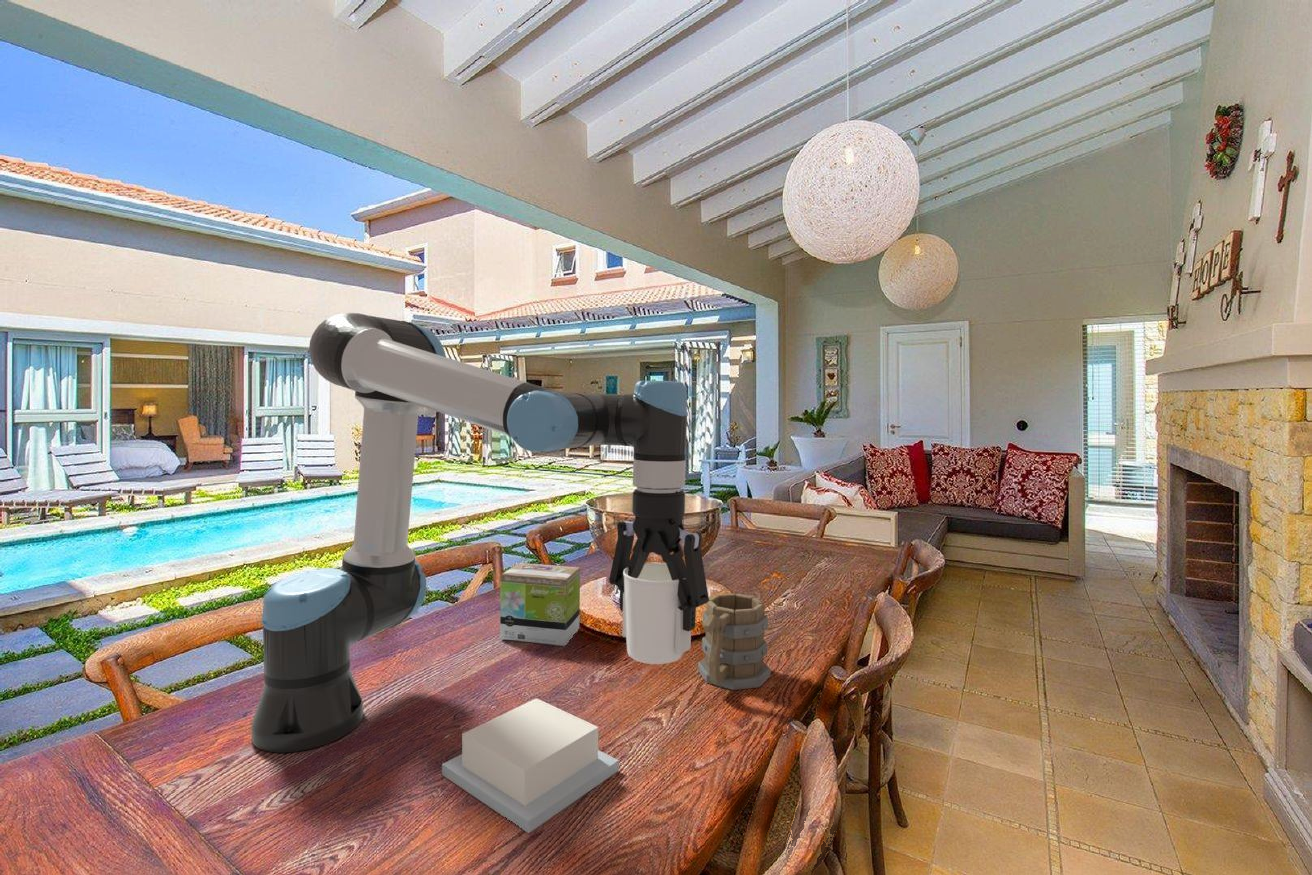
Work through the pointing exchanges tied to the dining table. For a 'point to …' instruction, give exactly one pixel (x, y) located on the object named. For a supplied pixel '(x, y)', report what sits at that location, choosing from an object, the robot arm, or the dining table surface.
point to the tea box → (540, 603)
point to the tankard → (734, 642)
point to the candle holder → (651, 614)
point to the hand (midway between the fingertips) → (655, 642)
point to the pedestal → (530, 763)
